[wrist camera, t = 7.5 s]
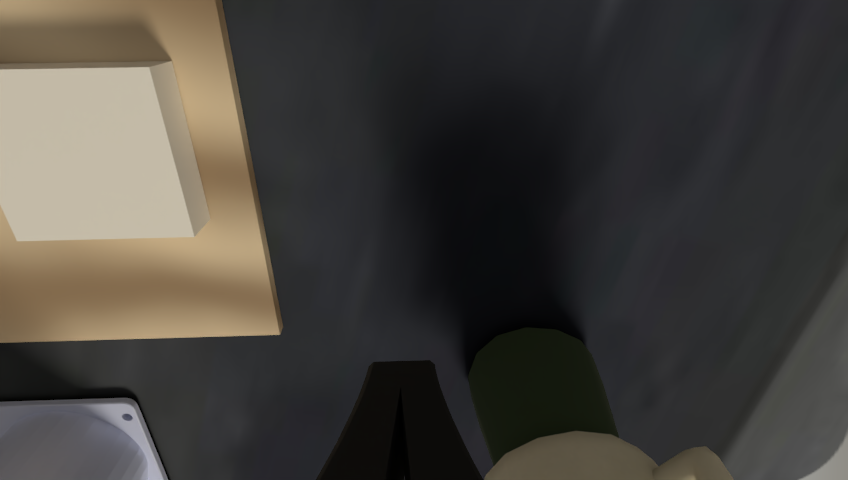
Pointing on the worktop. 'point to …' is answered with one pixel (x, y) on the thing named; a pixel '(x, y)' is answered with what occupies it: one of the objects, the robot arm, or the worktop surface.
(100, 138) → the tile
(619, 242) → the worktop surface
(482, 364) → the character mug
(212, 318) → the wooden cutting board
